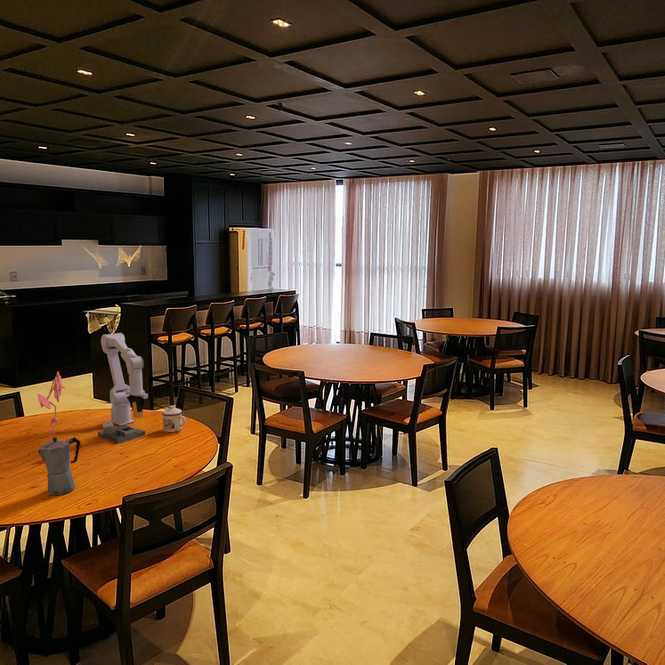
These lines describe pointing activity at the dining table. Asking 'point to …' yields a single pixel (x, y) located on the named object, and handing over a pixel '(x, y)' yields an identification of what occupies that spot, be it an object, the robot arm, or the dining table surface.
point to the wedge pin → (135, 413)
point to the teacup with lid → (172, 419)
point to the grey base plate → (119, 432)
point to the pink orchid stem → (47, 403)
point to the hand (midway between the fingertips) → (137, 411)
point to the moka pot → (59, 465)
